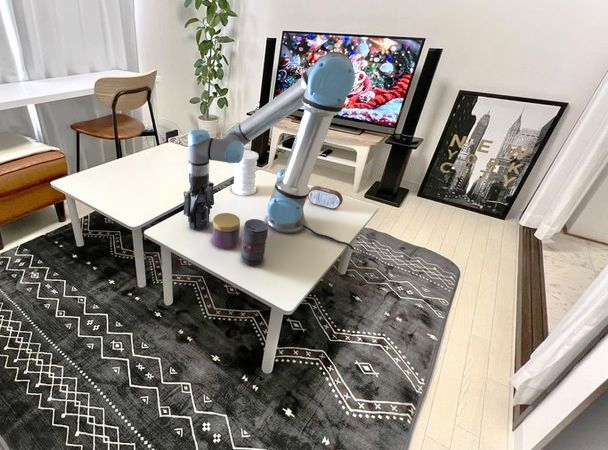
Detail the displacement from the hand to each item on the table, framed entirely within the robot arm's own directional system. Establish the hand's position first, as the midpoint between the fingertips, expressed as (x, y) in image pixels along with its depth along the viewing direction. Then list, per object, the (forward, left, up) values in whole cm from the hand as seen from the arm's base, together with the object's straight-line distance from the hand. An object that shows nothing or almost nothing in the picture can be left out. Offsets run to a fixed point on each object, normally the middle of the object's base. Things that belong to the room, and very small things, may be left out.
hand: (199, 224), depth 138 cm
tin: (-47, -33, -1) cm, 57 cm away
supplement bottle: (0, 0, -1) cm, 1 cm away
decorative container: (-10, -37, -1) cm, 38 cm away
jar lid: (-13, +7, +9) cm, 17 cm away
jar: (-13, +7, 0) cm, 15 cm away
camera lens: (-25, +15, -1) cm, 29 cm away
